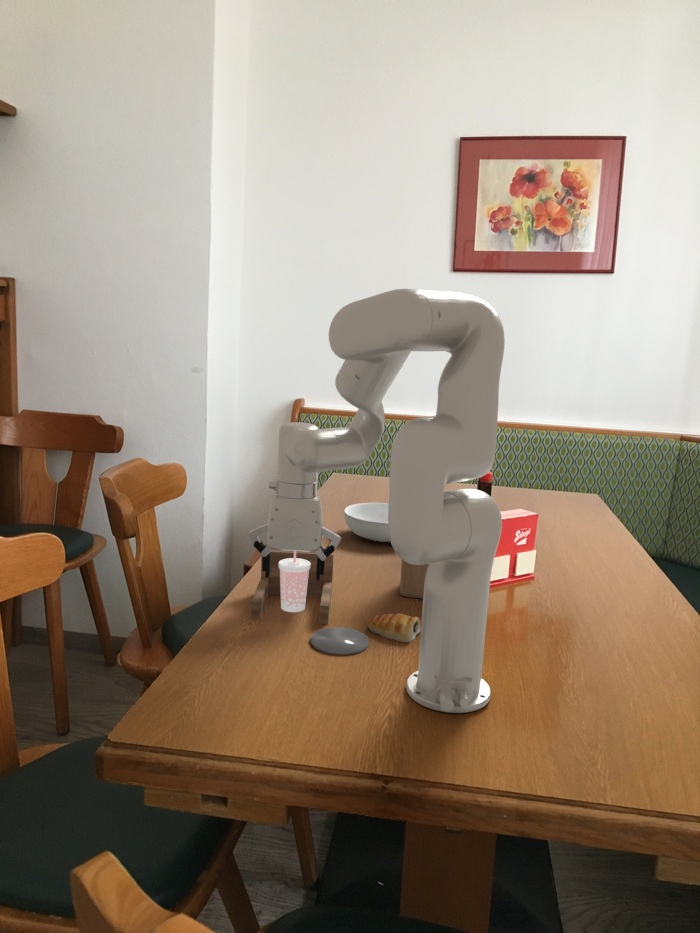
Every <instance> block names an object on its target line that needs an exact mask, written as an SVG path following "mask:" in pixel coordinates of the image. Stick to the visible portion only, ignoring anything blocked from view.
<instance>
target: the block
mask: <svg viewBox="0 0 700 933" xmlns="http://www.w3.org/2000/svg"><path fill="white" fill-rule="evenodd" d="M400 565H401V567H400V578H399V579H400V580H399V582H400V583H399V593H400V595H401V596H402V597H407V598H415V599H417V598H418V599H423V595H424V583H425V577H426V572H427V569H428V566H429V564H425V565H413V564H409V563H407V562H405V561H403V560H402V559H401V564H400Z"/></svg>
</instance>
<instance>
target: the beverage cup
mask: <svg viewBox="0 0 700 933" xmlns="http://www.w3.org/2000/svg"><path fill="white" fill-rule="evenodd" d="M278 564H279V569H280V590H281V595H280V608H281V610H282V611H284V612H287V613H298V612H299V613H300V612H303V611H304V610H305V609H306V604H307V603H306V601H307V597H306V594H307V584H308V574H309V569H310V565H311V563H310V562H309V561H307V560H305V559H300V558H296V551H294V558H287V559H283V560H280V561H279V563H278Z"/></svg>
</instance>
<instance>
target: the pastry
mask: <svg viewBox="0 0 700 933" xmlns="http://www.w3.org/2000/svg"><path fill="white" fill-rule="evenodd" d="M420 621H421V620H420V619H419V617H418V616H416V615H415V616H414V617H413V616H410V615H407V614H403V613H401V612H398V613H396V614H395V613H389V614H388V613H384V614H382V615H381V614H378V615H374V616H373V617H370V618H368V619H367V620H366V623H367V627H368V630H369V631H371V632H372V633H374V634H376V635H379V636H381V637H383V638H386V639H390V640H394V641H397V642H401V643H402V642H403V643H411V642H413V641H414V640H416V637H417V635H418V634H419V633H421V622H420Z"/></svg>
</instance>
